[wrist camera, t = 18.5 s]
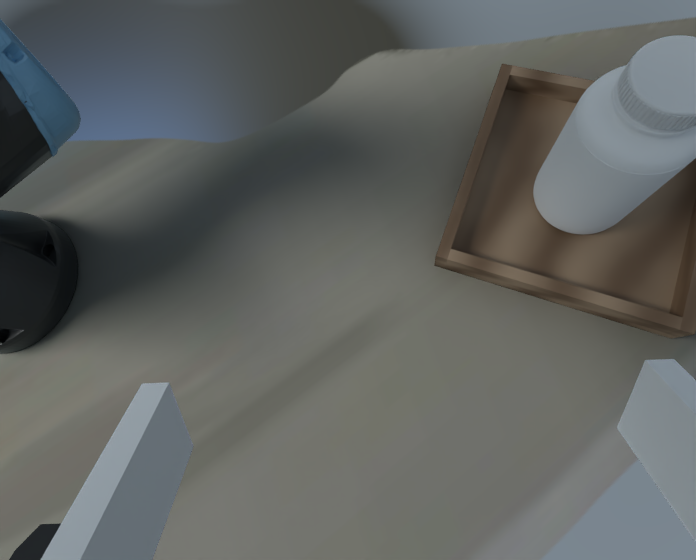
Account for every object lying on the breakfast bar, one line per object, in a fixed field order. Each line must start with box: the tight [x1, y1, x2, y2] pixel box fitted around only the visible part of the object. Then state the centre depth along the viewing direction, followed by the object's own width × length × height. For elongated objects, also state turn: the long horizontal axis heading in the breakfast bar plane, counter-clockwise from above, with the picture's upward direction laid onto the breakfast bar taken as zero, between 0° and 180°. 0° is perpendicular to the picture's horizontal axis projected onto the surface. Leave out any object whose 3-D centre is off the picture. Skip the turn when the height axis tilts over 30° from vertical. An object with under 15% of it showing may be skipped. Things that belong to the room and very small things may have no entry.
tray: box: [435, 64, 696, 338], centre depth 36 cm, size 20×20×3 cm
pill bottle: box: [533, 35, 696, 235], centre depth 30 cm, size 8×8×15 cm
